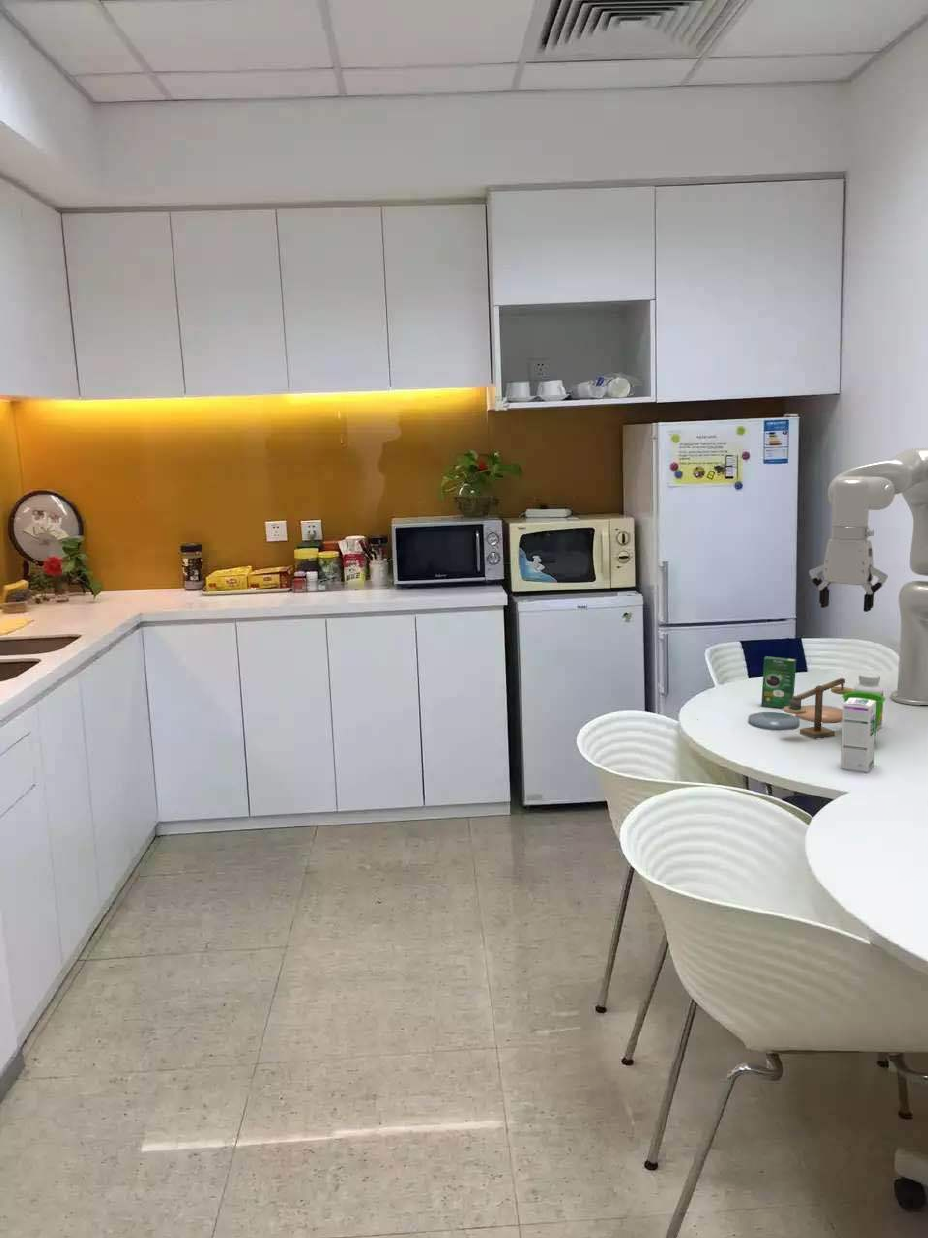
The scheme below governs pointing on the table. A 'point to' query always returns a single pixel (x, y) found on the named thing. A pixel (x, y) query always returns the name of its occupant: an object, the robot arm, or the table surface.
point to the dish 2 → (828, 714)
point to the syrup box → (858, 734)
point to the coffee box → (778, 681)
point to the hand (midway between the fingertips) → (845, 608)
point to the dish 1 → (774, 721)
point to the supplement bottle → (870, 688)
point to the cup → (866, 695)
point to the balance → (816, 707)
